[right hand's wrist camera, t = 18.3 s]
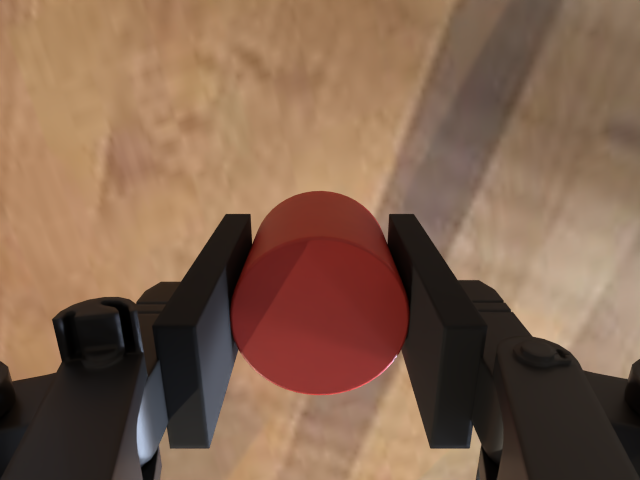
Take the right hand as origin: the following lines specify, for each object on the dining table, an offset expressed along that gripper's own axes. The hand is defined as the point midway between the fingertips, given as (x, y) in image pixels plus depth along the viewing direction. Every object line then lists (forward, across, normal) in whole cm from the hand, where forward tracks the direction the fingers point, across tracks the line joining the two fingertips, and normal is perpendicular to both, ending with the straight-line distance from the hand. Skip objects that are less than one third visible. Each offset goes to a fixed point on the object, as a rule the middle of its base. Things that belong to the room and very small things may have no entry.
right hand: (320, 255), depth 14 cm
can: (0, 0, 0) cm, 0 cm away
